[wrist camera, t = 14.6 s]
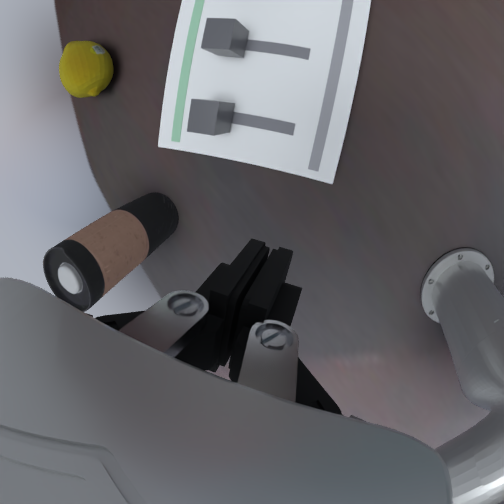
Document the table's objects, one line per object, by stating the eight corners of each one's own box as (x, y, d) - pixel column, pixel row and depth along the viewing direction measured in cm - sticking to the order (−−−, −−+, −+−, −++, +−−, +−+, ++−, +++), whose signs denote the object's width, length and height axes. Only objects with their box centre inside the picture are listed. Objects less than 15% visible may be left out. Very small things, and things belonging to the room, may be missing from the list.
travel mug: (162, 247, 46) (80, 324, 28) (129, 213, 45) (37, 275, 27) (189, 216, 42) (101, 291, 25) (153, 180, 41) (50, 233, 24)
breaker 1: (249, 30, 26) (235, 18, 22) (243, 58, 28) (229, 49, 23) (223, 29, 27) (207, 17, 22) (218, 55, 28) (200, 48, 24)
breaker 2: (234, 103, 30) (219, 101, 26) (229, 132, 32) (213, 135, 28) (210, 99, 31) (191, 98, 26) (205, 128, 32) (186, 131, 28)
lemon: (130, 84, 35) (93, 84, 28) (94, 108, 38) (58, 113, 31) (113, 29, 31) (77, 22, 24) (80, 55, 34) (44, 54, 27)
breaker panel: (372, -22, 21) (375, -32, 19) (332, 178, 35) (332, 184, 32) (204, -38, 25) (194, -46, 22) (169, 143, 38) (157, 146, 35)
